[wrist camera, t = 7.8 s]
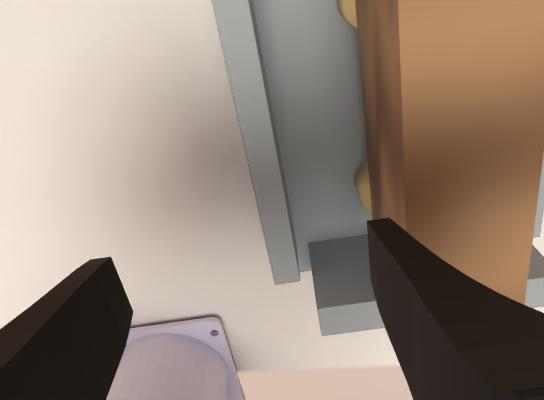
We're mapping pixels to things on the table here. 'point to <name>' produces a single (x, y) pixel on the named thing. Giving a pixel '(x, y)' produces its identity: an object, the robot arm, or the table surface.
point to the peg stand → (314, 149)
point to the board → (457, 128)
